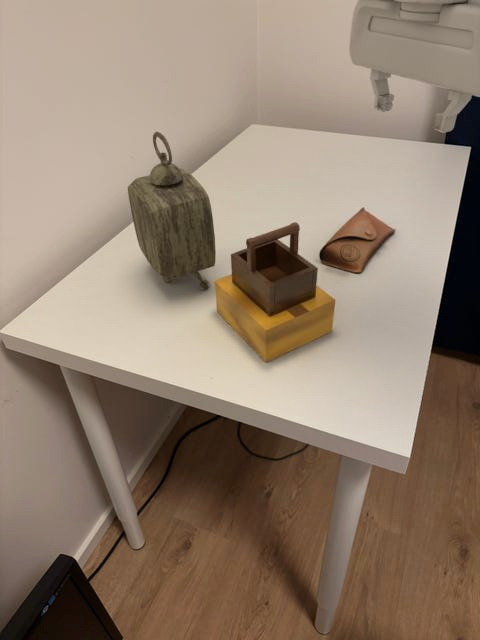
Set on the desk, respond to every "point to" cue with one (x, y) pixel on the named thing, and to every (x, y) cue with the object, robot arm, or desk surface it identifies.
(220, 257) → the desk surface
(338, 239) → the sunglasses case
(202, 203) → the tabletop clock
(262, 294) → the basket
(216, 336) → the desk surface
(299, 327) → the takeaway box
